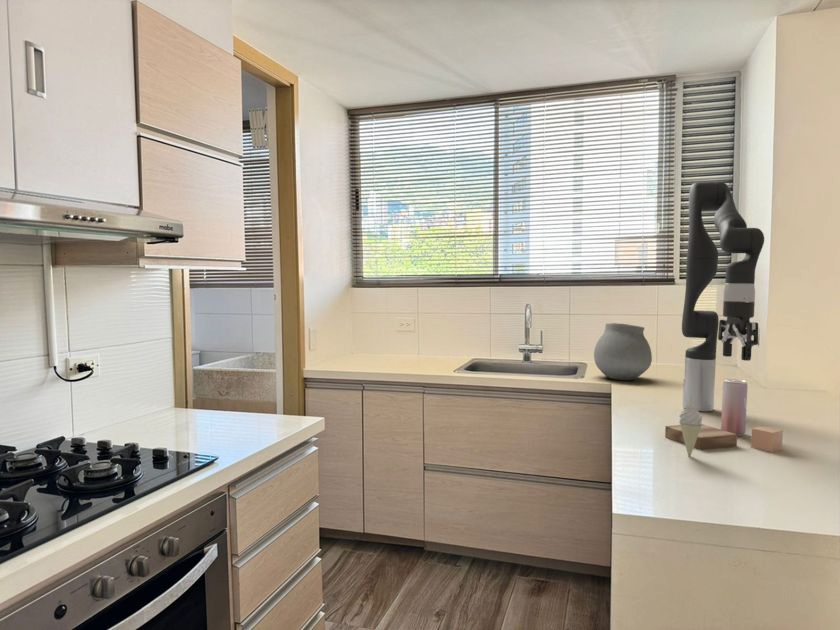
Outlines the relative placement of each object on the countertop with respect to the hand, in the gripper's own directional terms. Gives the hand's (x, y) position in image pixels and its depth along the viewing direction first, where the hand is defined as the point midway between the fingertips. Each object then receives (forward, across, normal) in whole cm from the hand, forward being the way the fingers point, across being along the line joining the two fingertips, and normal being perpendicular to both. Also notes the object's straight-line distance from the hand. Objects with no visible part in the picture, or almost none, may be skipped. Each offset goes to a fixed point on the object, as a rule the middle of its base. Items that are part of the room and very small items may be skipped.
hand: (736, 358), depth 155 cm
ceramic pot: (+21, -93, +7) cm, 96 cm away
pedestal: (+21, +8, -14) cm, 27 cm away
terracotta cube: (+21, +14, 0) cm, 26 cm away
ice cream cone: (+22, +21, -24) cm, 38 cm away
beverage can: (+22, 0, 0) cm, 22 cm away
